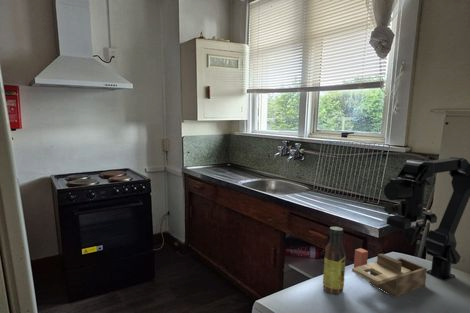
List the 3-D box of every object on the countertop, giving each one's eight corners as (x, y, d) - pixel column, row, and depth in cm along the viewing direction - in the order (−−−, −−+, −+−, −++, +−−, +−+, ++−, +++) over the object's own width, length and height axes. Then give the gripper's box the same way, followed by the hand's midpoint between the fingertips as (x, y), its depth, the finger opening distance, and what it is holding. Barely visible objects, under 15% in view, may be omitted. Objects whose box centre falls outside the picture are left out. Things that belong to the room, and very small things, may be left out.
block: (359, 269, 110) (361, 248, 109) (366, 273, 107) (368, 251, 106) (353, 270, 109) (355, 249, 108) (360, 274, 106) (362, 252, 105)
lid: (384, 261, 103) (385, 250, 102) (410, 273, 95) (411, 261, 94) (352, 271, 95) (352, 259, 95) (377, 284, 87) (378, 271, 87)
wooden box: (399, 273, 108) (400, 257, 107) (425, 285, 100) (426, 268, 99) (369, 283, 100) (370, 266, 99) (394, 297, 92) (396, 278, 91)
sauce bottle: (344, 296, 92) (349, 233, 90) (323, 293, 93) (327, 231, 91) (341, 285, 98) (345, 226, 96) (321, 283, 99) (325, 224, 97)
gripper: (407, 191, 111) (403, 232, 112) (373, 195, 102) (370, 240, 103) (439, 198, 101) (435, 243, 103) (405, 203, 92) (401, 252, 94)
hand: (409, 244), depth 101 cm, fingers closed
